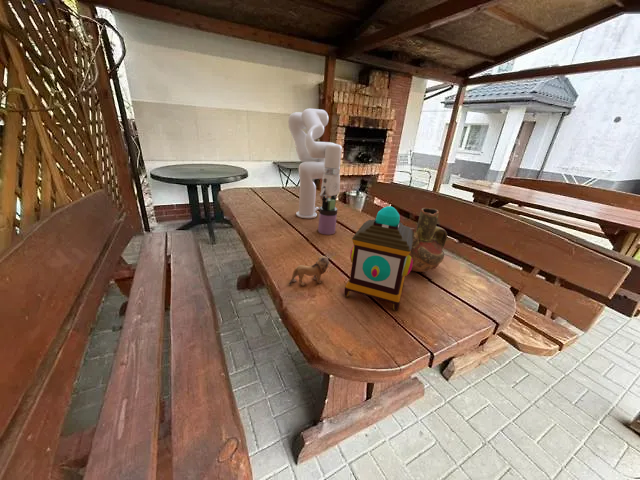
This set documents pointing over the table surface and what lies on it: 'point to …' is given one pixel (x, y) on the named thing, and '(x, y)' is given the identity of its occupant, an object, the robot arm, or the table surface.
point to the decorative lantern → (381, 257)
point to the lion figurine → (311, 270)
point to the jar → (327, 224)
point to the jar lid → (328, 211)
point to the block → (331, 204)
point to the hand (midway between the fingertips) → (328, 207)
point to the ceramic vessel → (427, 242)
